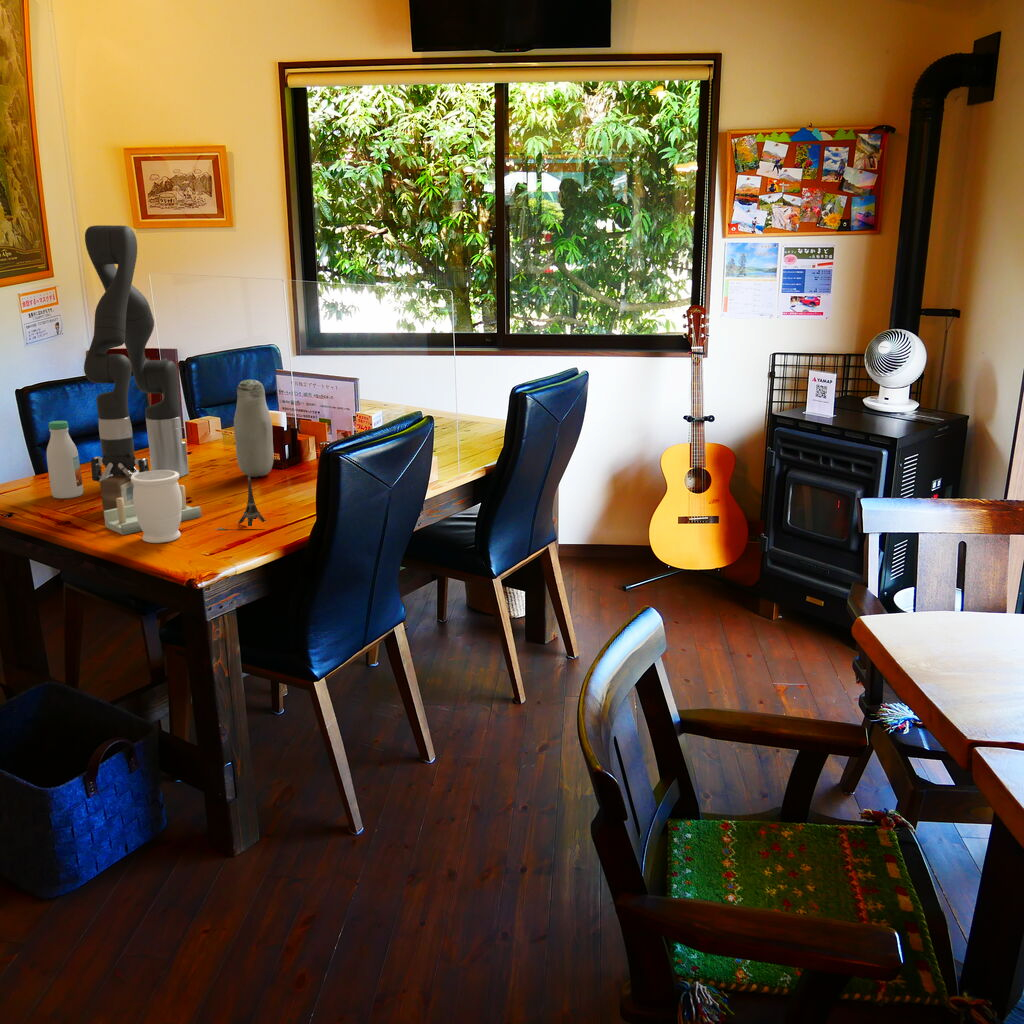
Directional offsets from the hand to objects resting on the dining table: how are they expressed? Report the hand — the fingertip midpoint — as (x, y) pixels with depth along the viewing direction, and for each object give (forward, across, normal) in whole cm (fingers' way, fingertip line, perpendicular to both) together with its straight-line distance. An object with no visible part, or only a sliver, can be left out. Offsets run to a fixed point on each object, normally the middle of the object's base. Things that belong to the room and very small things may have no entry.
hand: (123, 497), depth 233 cm
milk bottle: (+3, -22, +10) cm, 25 cm away
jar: (+3, +20, -20) cm, 29 cm away
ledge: (+3, +12, -9) cm, 15 cm away
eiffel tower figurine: (+4, +36, -7) cm, 37 cm away
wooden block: (+3, 0, 0) cm, 3 cm away
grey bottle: (+3, +20, +37) cm, 42 cm away
